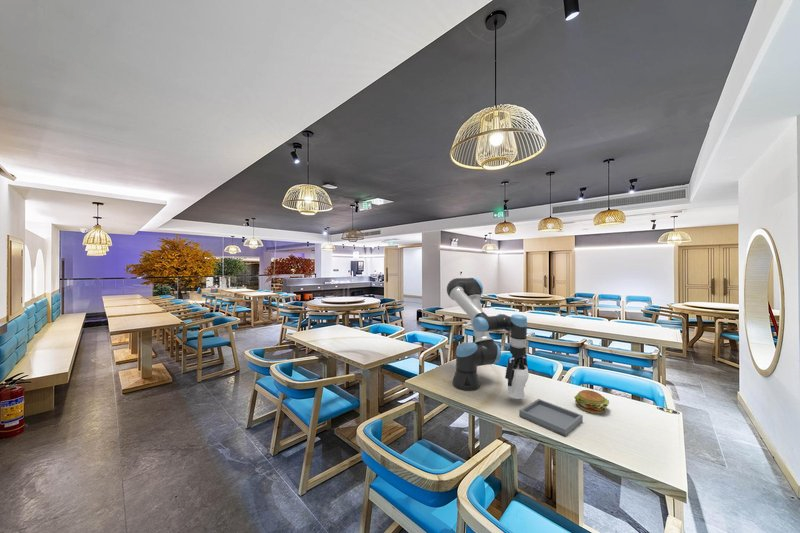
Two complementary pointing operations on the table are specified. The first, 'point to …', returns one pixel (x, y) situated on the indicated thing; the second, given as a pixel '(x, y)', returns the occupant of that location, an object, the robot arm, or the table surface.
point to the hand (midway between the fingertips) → (516, 388)
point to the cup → (519, 382)
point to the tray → (551, 417)
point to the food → (591, 401)
